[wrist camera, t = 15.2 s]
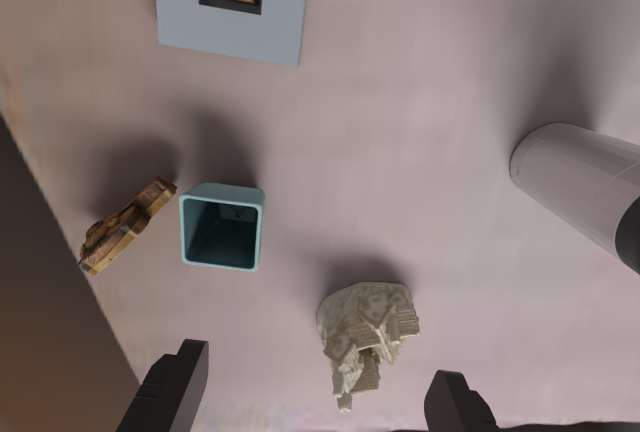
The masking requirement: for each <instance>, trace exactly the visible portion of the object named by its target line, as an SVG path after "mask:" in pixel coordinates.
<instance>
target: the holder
mask: <svg viewBox="0 0 640 432" xmlns="http://www.w3.org/2000/svg"><path fill="white" fill-rule="evenodd" d="M306 3H307V0H258V6H256V5H251V4H245V3H240V2H234V1H229V0H156V5H157V24H158V43H159V44H163V45H169V46H175V47H181V48H187V49H193V50H199V51H205V52H211V53H217V54H223V55H229V56H235V57H241V58H247V59H253V60H259V61H265V62H271V63H277V64H283V65H289V66H295V67H298V66H299V64H300V56H301V47H302V38H303V29H304V21H305V12H306Z"/></svg>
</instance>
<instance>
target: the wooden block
mask: <svg viewBox="0 0 640 432" xmlns="http://www.w3.org/2000/svg"><path fill="white" fill-rule="evenodd" d="M229 1H234V2H240V3H245V4H251V5H256V6H258V0H229Z"/></svg>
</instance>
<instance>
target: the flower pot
mask: <svg viewBox="0 0 640 432" xmlns="http://www.w3.org/2000/svg"><path fill="white" fill-rule="evenodd" d="M264 198H265V195H264V192H263V191H262V190H261V189H258V188H250V187H243V186H235V185H228V184H221V183H213V182H208V183H202V184H199V185H197V186H195V187H193V188H192V189H190V190H188V191H187V192H185V193H183V194H182V195H180V196H179V210H180V231H181V257H182V261H183V262H184V263H187V264H193V265H202V266H212V267H220V268H227V269H234V270H242V271H250V272H255V271H257V270H258V263H259V256H260V249H261V236H262V221H263V209H264ZM225 203H226V204H225ZM249 206H250V207H251V208H250V207H249ZM237 213H238V214H240V216H239V217H238V216H236V214H237Z"/></svg>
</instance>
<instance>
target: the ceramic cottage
mask: <svg viewBox="0 0 640 432" xmlns="http://www.w3.org/2000/svg"><path fill="white" fill-rule="evenodd" d="M316 322H317V326H318V329H319V332H320V333H321V337H322V340H323V346H324V348H325V349H324V351H323V352H324V354H325V356H326V358H327V360H328V363H329V365H330V368H331V371H332V372H333V375H332V380H333V386H334V390H333V396H334V399H335V398H337V401H338V407H339V410H340V412H341V413H349V412H350V410H351V406H352V397H353V396H354V395H358V394H362V393H364V392H370V391H375V390H378V385H379V384H378V383H379V380H380V379H381V378H380V375H379V372H378V371H379V366H380V365H381V362H380V356H381V357H382V358H383V359H384V360H386V361H388V363H389V364H390V365H394V361H395V360H396V357H397V356H398V354H399V353H398V352H399V349H400V348H401V347H402V344H403V343H404V341H405V337H407V336H418V335H419V334H420V331H419V330H420V328H419V325H418V322H419V318H418V317H417V316H416V311H415V309H414V306H413V302H412V297H411V293H410V291H409V289H408V288H407V287H406V286H405V285H403V284H400V283H397V284H395V283H387V282H381V283H380V282H360V283H356V284H353V285H350V286H349V287H346V288H343V289H340V290H338V291H336V292H334V293H333V294H331V295H329V296H327V297H326V298H325V299H324V300H323V302H322V303H321V305H320V307H319V309H318V312H317V317H316ZM379 355H380V356H379Z"/></svg>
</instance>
